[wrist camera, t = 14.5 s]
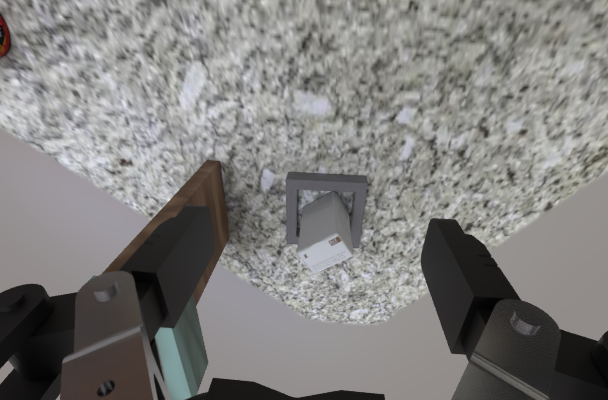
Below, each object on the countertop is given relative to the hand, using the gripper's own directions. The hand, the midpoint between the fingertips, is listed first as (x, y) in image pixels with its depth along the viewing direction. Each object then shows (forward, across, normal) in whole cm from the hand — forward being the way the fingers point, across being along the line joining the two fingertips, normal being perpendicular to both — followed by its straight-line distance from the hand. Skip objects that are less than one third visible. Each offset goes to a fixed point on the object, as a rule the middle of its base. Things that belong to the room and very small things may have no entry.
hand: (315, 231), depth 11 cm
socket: (+32, 0, +18) cm, 37 cm away
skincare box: (+32, 0, +18) cm, 37 cm away
